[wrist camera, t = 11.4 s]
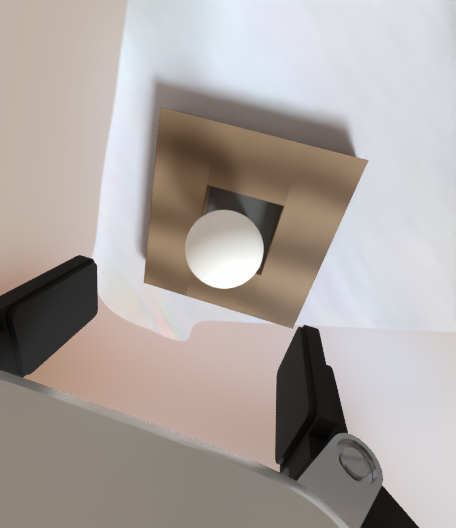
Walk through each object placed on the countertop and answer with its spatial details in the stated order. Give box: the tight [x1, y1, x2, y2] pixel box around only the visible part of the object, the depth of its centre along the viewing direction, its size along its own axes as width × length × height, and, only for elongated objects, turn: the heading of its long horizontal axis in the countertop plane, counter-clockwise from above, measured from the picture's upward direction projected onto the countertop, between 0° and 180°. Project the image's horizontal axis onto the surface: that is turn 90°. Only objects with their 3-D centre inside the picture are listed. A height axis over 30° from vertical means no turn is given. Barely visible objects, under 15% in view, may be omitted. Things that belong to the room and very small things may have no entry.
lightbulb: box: [185, 210, 264, 289], centre depth 21 cm, size 6×6×11 cm
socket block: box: [144, 107, 368, 328], centre depth 26 cm, size 18×18×3 cm
